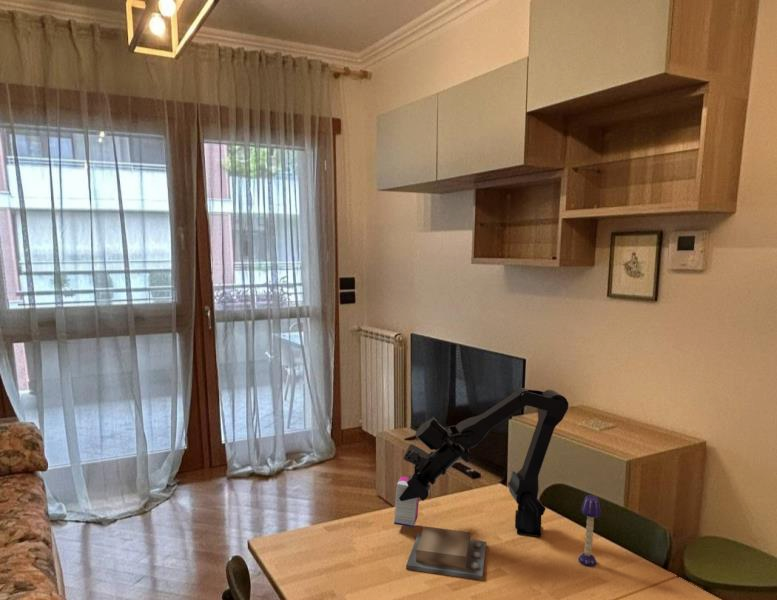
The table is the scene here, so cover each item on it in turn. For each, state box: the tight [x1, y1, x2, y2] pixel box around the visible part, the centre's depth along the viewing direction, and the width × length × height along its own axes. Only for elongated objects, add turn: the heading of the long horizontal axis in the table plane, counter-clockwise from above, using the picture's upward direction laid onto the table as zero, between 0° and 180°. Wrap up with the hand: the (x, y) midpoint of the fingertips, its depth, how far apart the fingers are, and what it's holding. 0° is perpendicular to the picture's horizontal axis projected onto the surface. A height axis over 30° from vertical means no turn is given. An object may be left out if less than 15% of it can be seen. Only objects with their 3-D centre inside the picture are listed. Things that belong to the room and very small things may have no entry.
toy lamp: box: [577, 494, 602, 568], centre depth 132 cm, size 5×5×17 cm
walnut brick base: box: [405, 526, 487, 581], centre depth 134 cm, size 18×16×4 cm
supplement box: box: [393, 476, 420, 528], centre depth 148 cm, size 6×6×12 cm
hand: (402, 495), depth 149 cm, fingers closed on supplement box, 6 cm apart
